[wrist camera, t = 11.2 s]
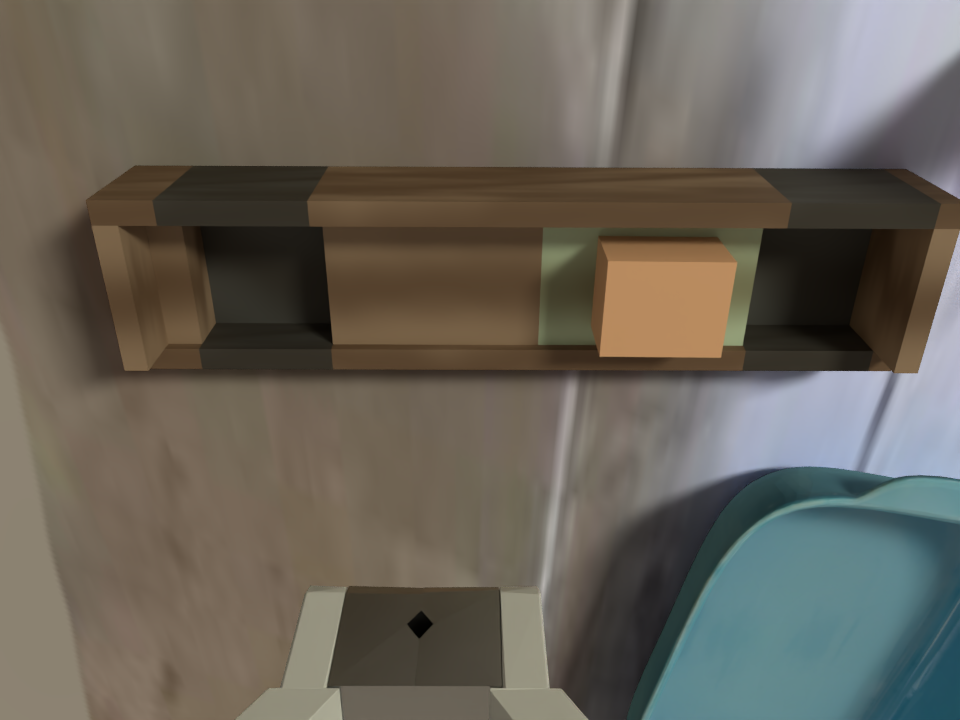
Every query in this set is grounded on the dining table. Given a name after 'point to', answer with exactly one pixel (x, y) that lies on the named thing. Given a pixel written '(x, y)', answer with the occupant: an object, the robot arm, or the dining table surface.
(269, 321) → the box
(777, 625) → the casserole dish
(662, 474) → the dining table surface
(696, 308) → the terracotta block
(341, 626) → the robot arm
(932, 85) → the dining table surface
